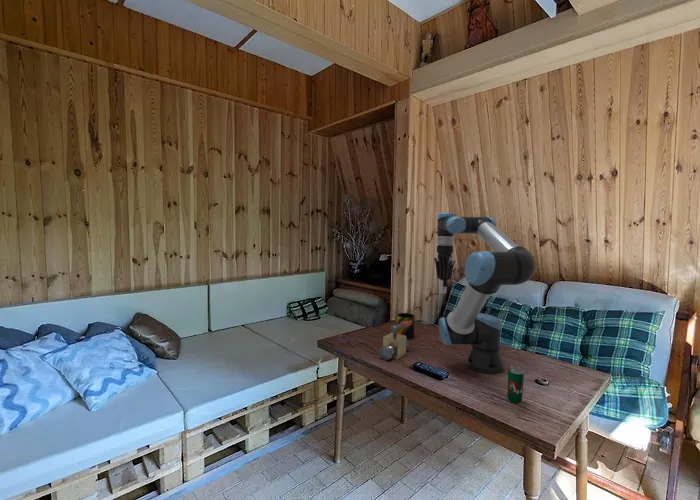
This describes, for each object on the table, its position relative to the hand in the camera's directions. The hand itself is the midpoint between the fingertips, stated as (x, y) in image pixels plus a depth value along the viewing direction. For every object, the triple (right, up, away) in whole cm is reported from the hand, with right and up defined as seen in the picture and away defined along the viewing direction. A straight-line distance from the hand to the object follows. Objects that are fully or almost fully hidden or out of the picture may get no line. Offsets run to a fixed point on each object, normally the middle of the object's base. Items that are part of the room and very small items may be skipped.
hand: (443, 293), depth 166 cm
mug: (-16, -27, +25) cm, 40 cm away
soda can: (+14, -34, -43) cm, 56 cm away
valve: (-24, -29, -2) cm, 38 cm away
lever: (-20, -20, +1) cm, 28 cm away
